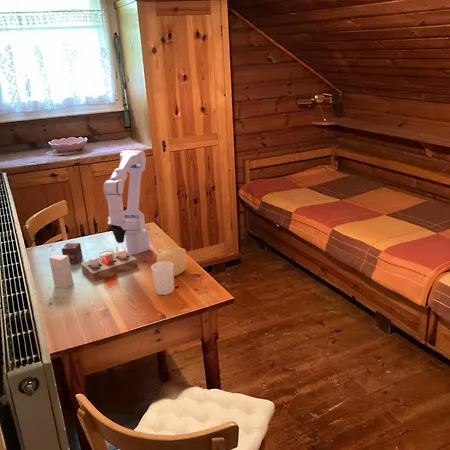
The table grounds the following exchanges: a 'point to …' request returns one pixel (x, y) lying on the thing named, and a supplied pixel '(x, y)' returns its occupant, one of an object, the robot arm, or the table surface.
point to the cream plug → (122, 254)
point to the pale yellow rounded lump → (173, 258)
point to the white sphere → (94, 262)
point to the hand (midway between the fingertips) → (120, 241)
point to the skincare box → (61, 271)
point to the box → (73, 252)
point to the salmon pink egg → (109, 258)
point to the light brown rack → (109, 267)
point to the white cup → (163, 277)
